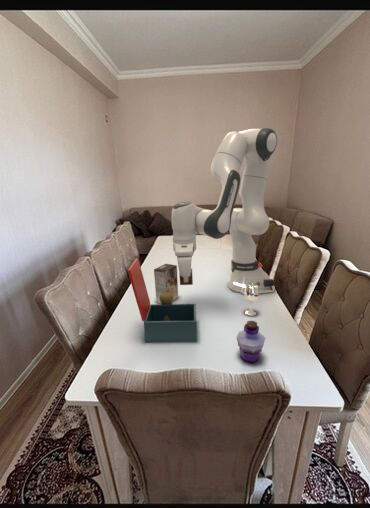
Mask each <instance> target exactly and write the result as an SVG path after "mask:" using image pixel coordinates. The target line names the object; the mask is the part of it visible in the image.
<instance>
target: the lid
mask: <svg viewBox="0 0 370 508" xmlns="http://www.w3.org/2000/svg"><path fill="white" fill-rule="evenodd" d="M127 274H128V278H129V281H130V283H131V288H132V292H133V294H134V297H135V301H136V304H137V308H138V311H139V315H140V318H141V322H144V321H145V318H146V315H147V312H148V309H149V306H150V304H151V300H150V297H149V293H148V289H147V286H146V282H145V278H144V274H143V271H142V267H141V264H140V259H139V257H136V258H134V261H133V262H132V264H131V265H130V266H129V268H128V269H127Z"/></svg>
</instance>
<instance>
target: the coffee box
mask: <svg viewBox="0 0 370 508" xmlns="http://www.w3.org/2000/svg"><path fill="white" fill-rule="evenodd" d="M177 265H178V264H177ZM177 265H176V264H171V263H164V264H162V265H160V266H158V267H156V268H154V269H153V276H154V288H155V301H156V303H157V304H161V302H160V295H161V294H162V293H165V292H168V293H171V294H172V295H173V301H172V302H174V301H175V300H176V299H178V298H179V284H178V266H177Z"/></svg>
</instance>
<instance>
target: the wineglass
mask: <svg viewBox="0 0 370 508" xmlns="http://www.w3.org/2000/svg"><path fill="white" fill-rule="evenodd" d="M243 296H244V299H245V300H247V301H249V309H246V310H245V311H244V314H245V315H247V316H251V317H253V316H256V315H257V312H256V310H253V309H252V305H253V302H255V301H257V300H258V299H259V297H260V293H259V288H258V285H256V284H253V283H249V284H247V285H246V287H245V290H244V294H243Z"/></svg>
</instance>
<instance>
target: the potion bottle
mask: <svg viewBox="0 0 370 508" xmlns="http://www.w3.org/2000/svg"><path fill="white" fill-rule="evenodd" d="M266 339H267V338H266V337H265V336H264V335H263V334H262V333H261V332H260V326H259V325H258V322H257V321H255V320H247V321H246V323H245V324H244V326H243V330H240V331H238V333H237V336H236V343H237V346H238V347H239V354H240V358H241V359H242V361H243V362H246V363H249V364H253V363H254V364H255V363H257V362H259V359H260V353H262V351H263V347H264V345H265V341H266Z"/></svg>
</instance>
